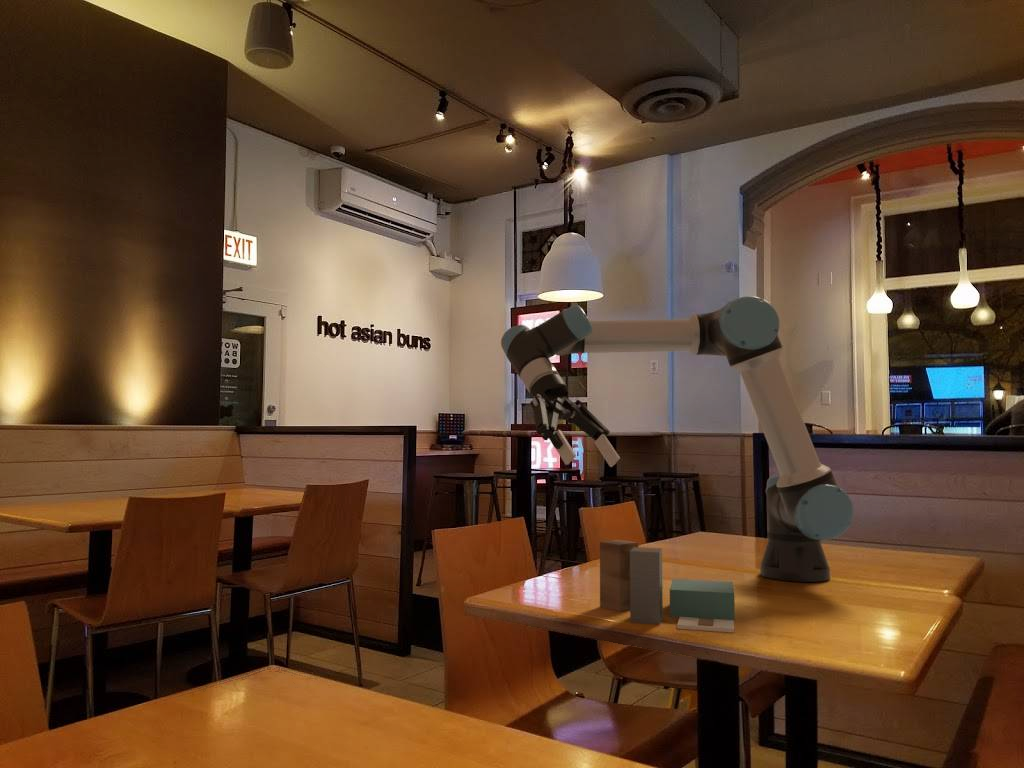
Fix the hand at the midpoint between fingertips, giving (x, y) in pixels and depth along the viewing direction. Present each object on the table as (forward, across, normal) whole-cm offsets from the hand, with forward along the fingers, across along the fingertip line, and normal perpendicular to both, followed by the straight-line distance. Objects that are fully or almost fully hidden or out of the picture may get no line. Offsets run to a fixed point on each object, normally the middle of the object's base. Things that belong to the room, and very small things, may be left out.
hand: (593, 461), depth 148 cm
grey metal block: (+31, +4, -6) cm, 32 cm away
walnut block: (+25, 0, -12) cm, 28 cm away
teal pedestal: (+33, -8, -3) cm, 34 cm away
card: (+37, +1, +2) cm, 37 cm away
